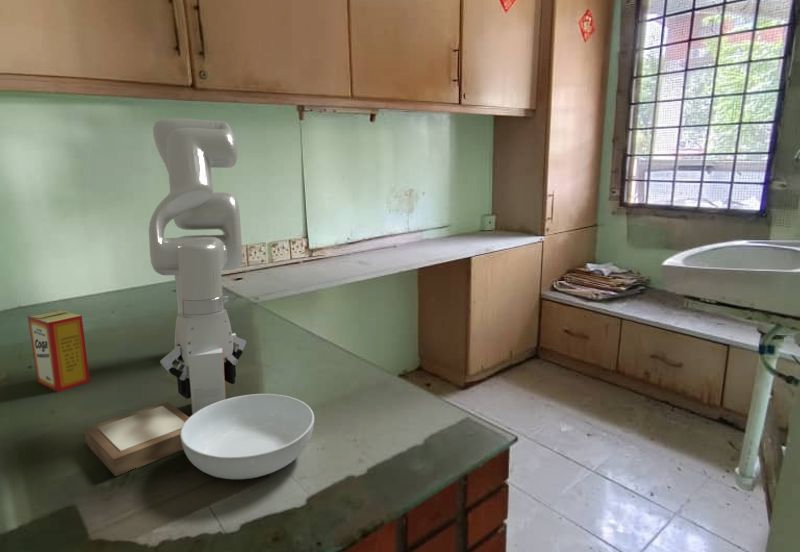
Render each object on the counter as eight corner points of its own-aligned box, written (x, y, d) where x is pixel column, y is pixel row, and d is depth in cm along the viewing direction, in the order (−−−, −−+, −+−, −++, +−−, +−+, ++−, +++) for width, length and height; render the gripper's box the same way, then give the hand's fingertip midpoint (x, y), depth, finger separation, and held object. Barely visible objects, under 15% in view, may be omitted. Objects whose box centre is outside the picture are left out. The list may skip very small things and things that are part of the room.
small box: (227, 415, 94) (222, 352, 92) (192, 420, 92) (186, 356, 89) (226, 398, 102) (222, 339, 99) (193, 402, 99) (189, 342, 97)
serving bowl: (182, 514, 66) (178, 469, 65) (184, 440, 85) (181, 404, 84) (329, 479, 74) (328, 438, 73) (300, 419, 93) (299, 385, 92)
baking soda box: (89, 381, 109) (81, 314, 106) (57, 392, 104) (48, 321, 101) (68, 373, 114) (60, 308, 111) (37, 382, 109) (27, 314, 106)
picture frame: (168, 415, 94) (167, 400, 93) (202, 441, 84) (201, 424, 84) (86, 444, 83) (84, 427, 83) (115, 476, 74) (113, 458, 74)
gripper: (233, 295, 101) (238, 372, 105) (147, 310, 89) (155, 397, 92) (252, 301, 97) (257, 381, 100) (164, 318, 84) (173, 409, 87)
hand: (208, 388), depth 96 cm, fingers closed on small box, 8 cm apart
